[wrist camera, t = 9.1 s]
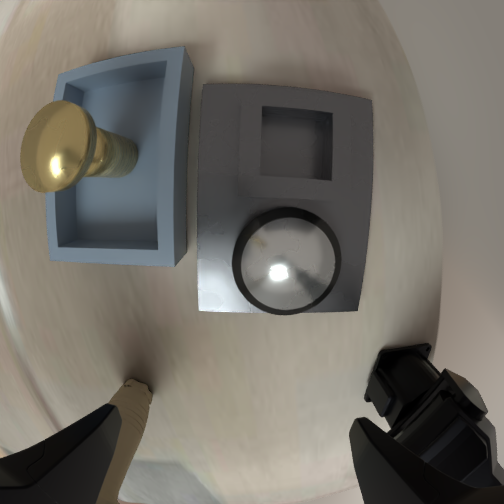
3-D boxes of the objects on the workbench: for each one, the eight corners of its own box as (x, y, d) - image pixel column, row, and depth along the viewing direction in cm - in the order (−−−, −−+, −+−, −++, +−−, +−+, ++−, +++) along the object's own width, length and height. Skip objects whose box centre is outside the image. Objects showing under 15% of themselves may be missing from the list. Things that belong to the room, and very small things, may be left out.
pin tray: (194, 67, 16) (184, 46, 13) (186, 252, 19) (174, 266, 16) (81, 86, 16) (58, 74, 12) (75, 249, 19) (50, 260, 16)
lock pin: (149, 124, 16) (89, 90, 8) (146, 186, 17) (81, 188, 9) (97, 132, 16) (25, 112, 8) (94, 189, 17) (19, 196, 9)
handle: (102, 372, 22) (34, 483, 7) (156, 368, 22) (101, 509, 7) (123, 406, 23) (75, 514, 8) (175, 405, 23) (142, 535, 8)
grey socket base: (365, 104, 17) (386, 90, 14) (352, 305, 21) (369, 325, 17) (205, 90, 17) (197, 70, 13) (201, 304, 20) (193, 326, 17)
